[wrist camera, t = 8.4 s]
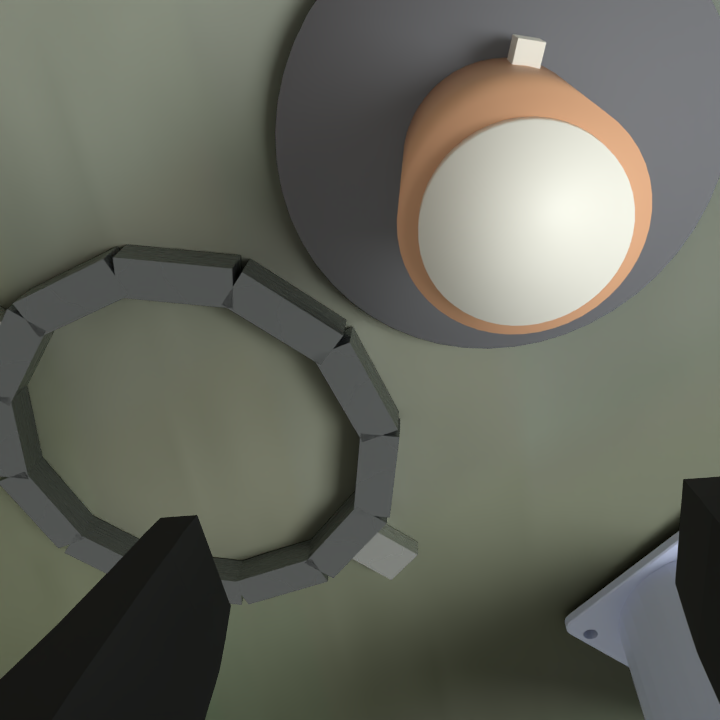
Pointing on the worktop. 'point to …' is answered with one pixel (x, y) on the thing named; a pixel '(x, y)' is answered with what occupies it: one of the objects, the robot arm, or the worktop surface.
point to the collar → (265, 310)
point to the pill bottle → (518, 197)
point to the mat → (437, 61)
